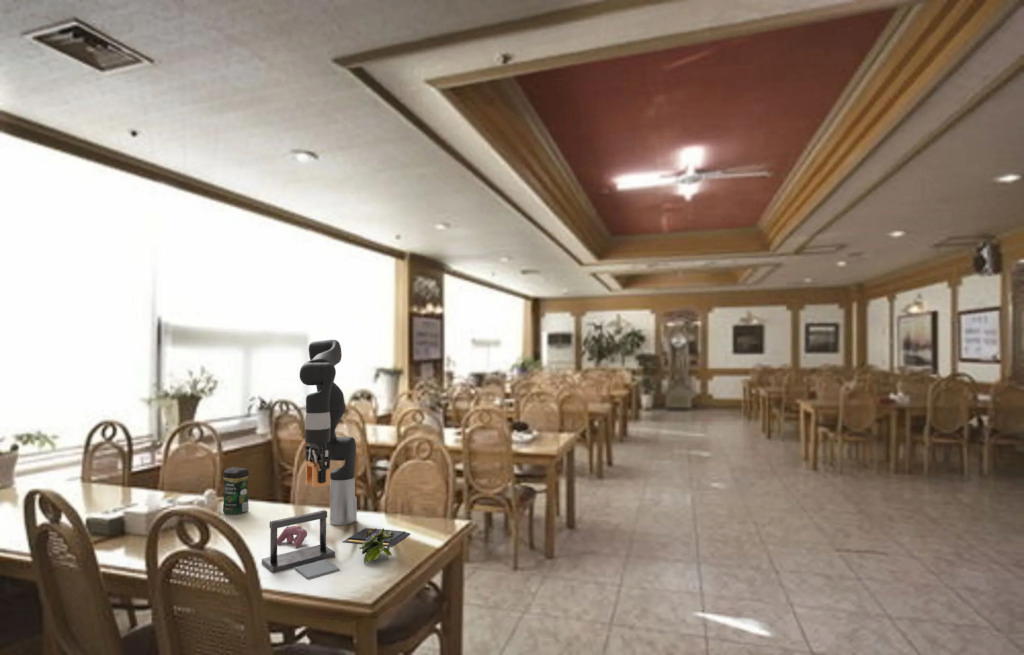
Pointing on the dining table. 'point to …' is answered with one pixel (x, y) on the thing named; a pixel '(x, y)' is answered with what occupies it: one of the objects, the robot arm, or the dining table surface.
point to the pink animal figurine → (289, 533)
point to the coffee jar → (235, 490)
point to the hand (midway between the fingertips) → (317, 480)
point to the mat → (317, 569)
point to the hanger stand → (302, 555)
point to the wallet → (361, 535)
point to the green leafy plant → (375, 544)
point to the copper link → (314, 474)
